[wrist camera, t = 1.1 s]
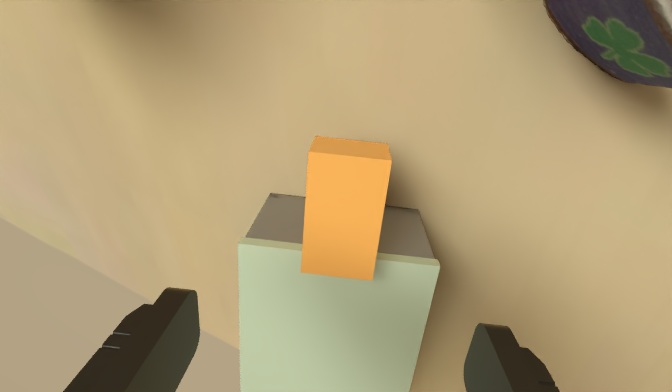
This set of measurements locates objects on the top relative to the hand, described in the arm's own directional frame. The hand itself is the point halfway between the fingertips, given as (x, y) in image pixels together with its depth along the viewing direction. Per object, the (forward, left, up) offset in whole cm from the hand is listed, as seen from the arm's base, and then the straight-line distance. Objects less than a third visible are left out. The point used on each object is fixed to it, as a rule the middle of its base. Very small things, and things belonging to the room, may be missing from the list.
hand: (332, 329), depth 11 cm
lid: (0, +9, -13) cm, 16 cm away
